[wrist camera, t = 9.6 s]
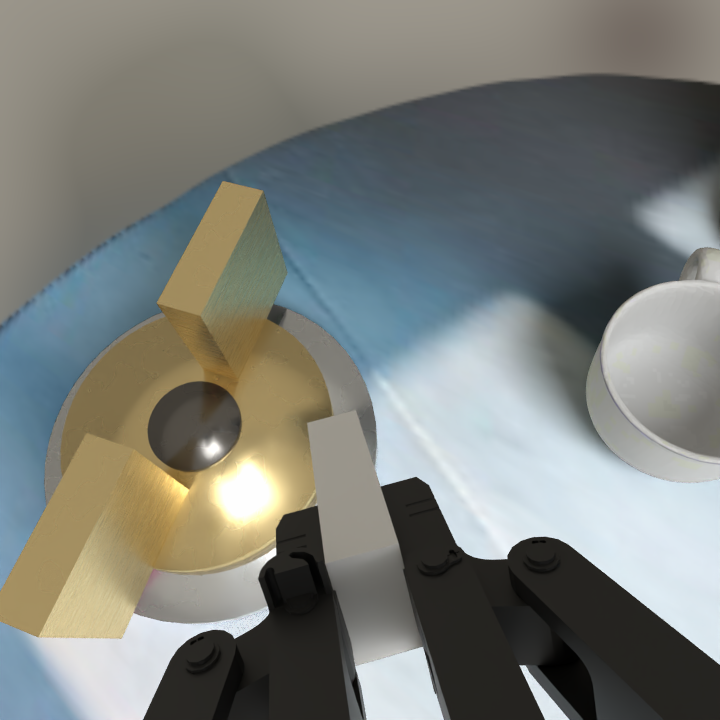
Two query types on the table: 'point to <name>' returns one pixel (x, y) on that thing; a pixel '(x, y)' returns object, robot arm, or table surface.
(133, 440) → the gold twin-plate stand
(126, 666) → the table surface
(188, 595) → the silver round plate
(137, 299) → the table surface
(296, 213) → the table surface
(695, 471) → the teacup
